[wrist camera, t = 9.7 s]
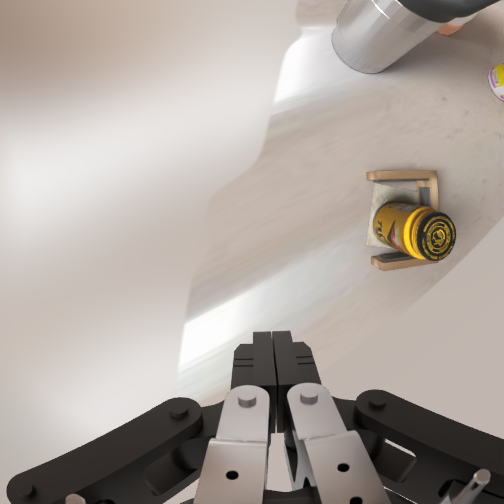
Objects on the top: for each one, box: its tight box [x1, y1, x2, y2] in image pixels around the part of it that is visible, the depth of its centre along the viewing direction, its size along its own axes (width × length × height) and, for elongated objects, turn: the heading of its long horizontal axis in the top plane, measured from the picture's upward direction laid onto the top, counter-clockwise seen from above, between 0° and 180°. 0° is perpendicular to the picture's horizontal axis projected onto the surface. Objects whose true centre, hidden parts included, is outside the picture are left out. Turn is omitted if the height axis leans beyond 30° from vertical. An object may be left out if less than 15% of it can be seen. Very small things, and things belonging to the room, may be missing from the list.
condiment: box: [366, 183, 456, 261], centre depth 33 cm, size 7×8×12 cm
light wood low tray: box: [366, 171, 439, 271], centre depth 37 cm, size 12×9×4 cm
